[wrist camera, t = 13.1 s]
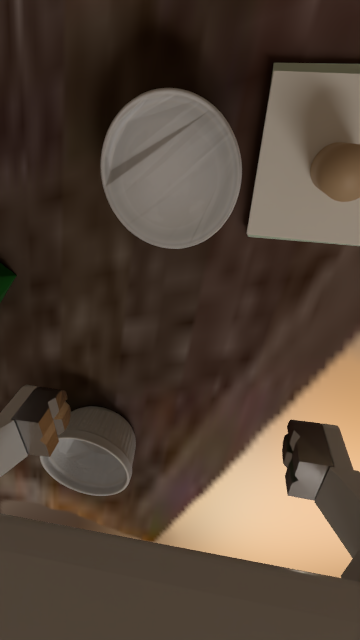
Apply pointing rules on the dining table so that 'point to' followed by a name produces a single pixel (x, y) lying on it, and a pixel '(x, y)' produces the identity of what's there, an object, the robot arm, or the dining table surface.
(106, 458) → the ramekin
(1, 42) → the dining table surface
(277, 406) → the dining table surface
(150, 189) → the ramekin
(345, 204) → the cover
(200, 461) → the dining table surface
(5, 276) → the milk carton
